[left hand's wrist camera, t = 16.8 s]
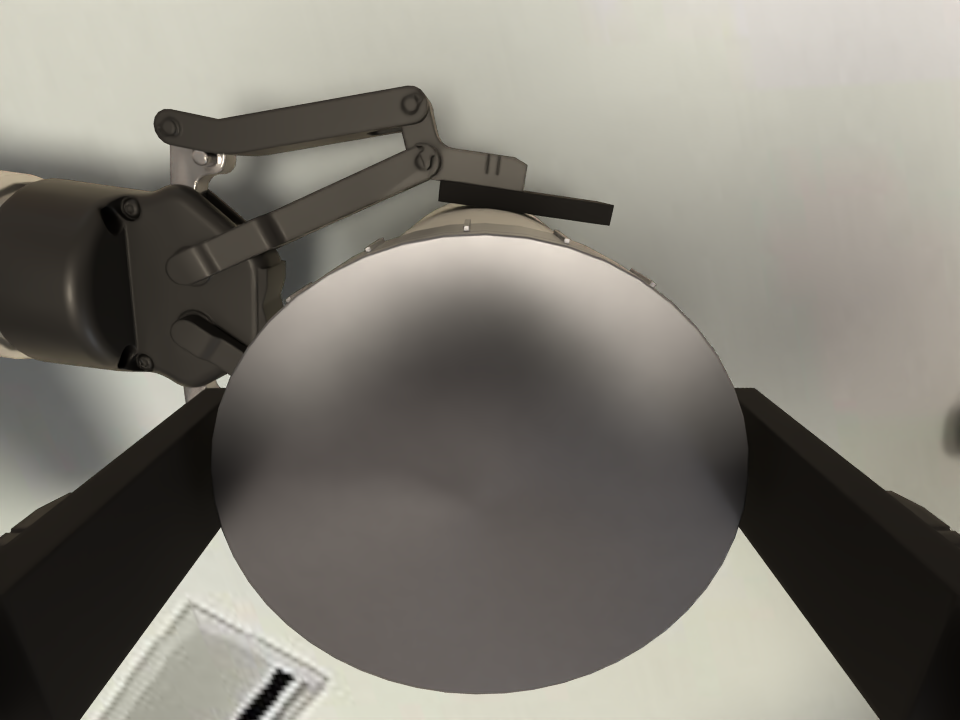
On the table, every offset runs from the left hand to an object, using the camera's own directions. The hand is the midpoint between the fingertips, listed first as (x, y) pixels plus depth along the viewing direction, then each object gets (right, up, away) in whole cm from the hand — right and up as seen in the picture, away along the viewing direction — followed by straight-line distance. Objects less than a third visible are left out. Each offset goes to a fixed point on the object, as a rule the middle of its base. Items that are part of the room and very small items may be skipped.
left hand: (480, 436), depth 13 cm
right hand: (+4, +3, +9) cm, 11 cm away
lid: (0, -1, -2) cm, 2 cm away
